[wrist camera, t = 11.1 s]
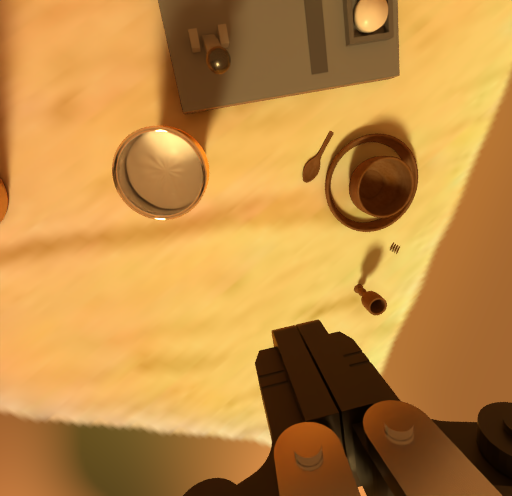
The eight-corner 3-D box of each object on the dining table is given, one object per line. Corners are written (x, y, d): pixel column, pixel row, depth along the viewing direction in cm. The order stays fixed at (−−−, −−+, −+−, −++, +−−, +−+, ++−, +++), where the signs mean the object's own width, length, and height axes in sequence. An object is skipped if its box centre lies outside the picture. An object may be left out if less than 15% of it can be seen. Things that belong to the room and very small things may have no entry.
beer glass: (177, 117, 36) (159, 99, 22) (220, 166, 38) (229, 179, 24) (132, 160, 37) (86, 170, 23) (177, 206, 39) (161, 241, 25)
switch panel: (184, 114, 36) (182, 110, 33) (155, -16, 32) (149, -35, 29) (389, 78, 38) (407, 72, 35) (385, -48, 34) (405, -69, 31)
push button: (353, 36, 34) (358, 32, 33) (351, -1, 33) (356, -6, 32) (382, 31, 34) (388, 27, 33) (381, -5, 33) (387, -10, 32)
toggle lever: (201, 55, 33) (210, 78, 26) (196, 31, 32) (204, 50, 25) (220, 51, 33) (234, 75, 27) (217, 28, 32) (230, 46, 25)
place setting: (444, 175, 43) (479, 179, 38) (362, 300, 47) (383, 321, 42) (337, 103, 39) (359, 96, 33) (256, 249, 43) (264, 265, 37)
